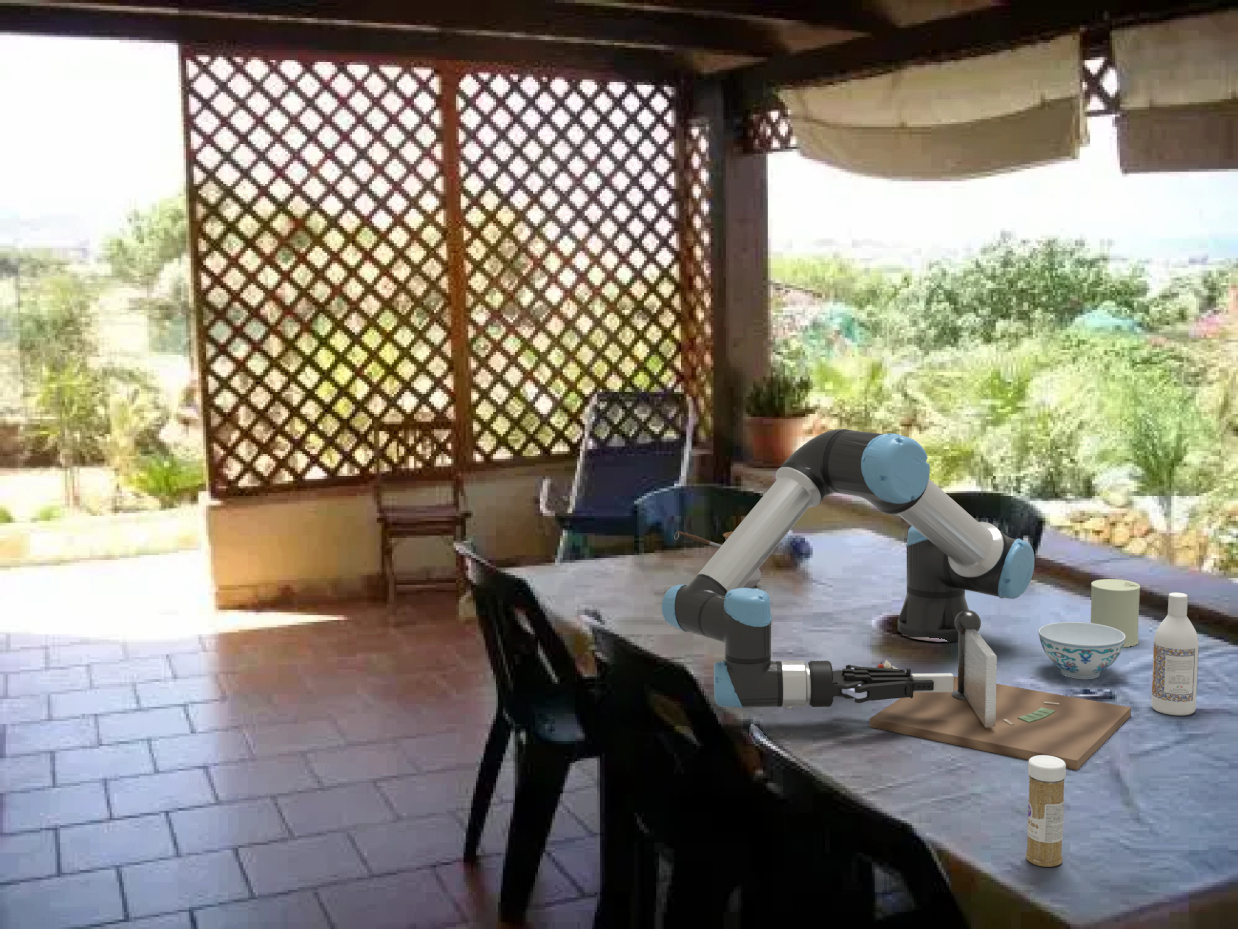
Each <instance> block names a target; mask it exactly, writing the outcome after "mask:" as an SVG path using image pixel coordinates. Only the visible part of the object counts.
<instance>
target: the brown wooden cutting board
mask: <svg viewBox="0 0 1238 929" xmlns="http://www.w3.org/2000/svg"><path fill="white" fill-rule="evenodd" d="M953 676H954V681H953V692H913V698H910V697H908V698H897V700H895V701H894V702H892V703H891V704H889V705H888V706H886V707H885V708H883V709H882V710H880V711H879V712H877V713H875V714H873V715H872V716H871V717H870V718H869V728H872V729H877V730H883V731H887V730H889V731H888V732H892V731H893V733H897V734H902V735H906V736H912V737H916V738H921V739H925V740H926V739H927V740H931V741H935V742H941V743H945V744H950V745H955V746H961V747H965V748H969V749H974V750H979V751H984V752H988V753H994V754H998V755H1003V756H1007V757H1012V758H1016V759H1017V758H1018V759H1021V760H1027V761H1029V759H1030V758H1032V757H1034V756H1038V755H1048V756H1054V757H1057V758H1060V759H1062V760H1063V761H1064V762H1065V764H1066V769H1068V770H1069V769H1070V770H1074V771H1075V770H1076V771H1078V770H1079V768H1081V767H1082V766H1083V765H1084V764H1085V763H1086V761H1088V760H1089V759H1090V757H1092V756H1093V755H1094V754H1095V753H1096V752H1097V751H1098V750H1099V749H1100V748H1101V747H1102V745H1104V743H1106V742H1107V741H1108V739H1110V738H1111V736H1113V735H1114V734H1115V733H1116V731H1118V730H1119V729H1120V728H1121V727H1122V725H1124V724H1125V723H1126V722H1127V720H1129V719H1130V718H1131V716H1132V707H1131V706H1125V705H1118V704H1114V703H1108V702H1101V701H1097V700H1091V699H1085V698H1078V697H1073V696H1068V695H1063V694H1057V693H1051V692H1045V691H1041V690H1035V689H1028V688H1024V687H1017V686H1011V685H1006V684H1000V683H996V719H995V727H985V726H984V725H983V723H982V722H981V720H980V719H979V717H978V715H977V714H976V712H975V711H974V709H973V708H972V706H971V705H970V703H969V702H968V700H967V699H966V697H965V696H964V694H962V693H959V692H958V676H955V675H953Z"/></svg>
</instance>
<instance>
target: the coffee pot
mask: <svg viewBox="0 0 1238 929" xmlns="http://www.w3.org/2000/svg"><path fill="white" fill-rule="evenodd" d="M733 532H734V531H728V532H724V533H723V534H722V537H724V539H725V541H726V540H727V539H728V538H729V536H730V535H731V534H732V533H733ZM677 534H678V535H677ZM676 535H677V538H676ZM680 536H683V537H684V538H687V539H690V540H691V541H694V542H698V543H701V544H705V545H709V546H712V547H715V548H717V549H719V548H720V547H721V546H722V545H723V544H720V543H716V542H714V541H710V540H708V539H706V538H703V537H700V536H699V535H695V534H690V533H688V532H683V531H680V530H677V531H676V532H675V533H674V535H673V539H674V540H678V539H679V538H680ZM761 580H762V573H761V570H760V568H759V569H758V570H757V571H756V572H755V573H754V575H753V576H752V577H751V578H750V580H749V581H748V582H747V583H746V584H745V586H744V587H743V588H751V589H754V588H755V587H756V586H757V585H758V584H759V583H760V582H761Z"/></svg>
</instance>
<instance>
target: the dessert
mask: <svg viewBox="0 0 1238 929" xmlns="http://www.w3.org/2000/svg"><path fill="white" fill-rule="evenodd" d="M891 664H892V663H891V662H890V661H888V660H887V659H885V661H884V663H883V664H882V663H878V665H877V666H876V667H875V668H890V669H900V668H898V667H896V666H895V665H891ZM912 674H913V673H911V675H912Z"/></svg>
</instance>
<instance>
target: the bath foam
mask: <svg viewBox="0 0 1238 929" xmlns="http://www.w3.org/2000/svg"><path fill="white" fill-rule="evenodd" d="M1188 596H1189V595H1188V594H1187V593H1183V592H1169V593H1168V600H1167V602H1168V606H1167V615H1166V617H1165V618H1164V619H1163V620H1162V621H1161V623H1160V624H1159V625H1158V626H1157V628H1156V631H1155V634H1154V637H1153V648H1152V650H1153V651H1152V652H1153V653H1152V673H1151V674H1152V675H1151V677H1152V678H1151V702H1150V703H1151V708H1152V709H1153V710H1155V711H1156V712H1159V713H1160V714H1164V715H1170V716H1189V715H1192V714H1194V713H1195V712H1196V708H1197V695H1198V693H1197V692H1198V676H1199V675H1198V673H1199V672H1198V670H1199V652H1200V650H1199V649H1200V645H1199V636H1198V633H1197V631H1196V628H1195V627H1194V625H1193V624H1192V621H1191V620H1190V619H1189V617H1188V616H1187V615H1188V599H1189V598H1188Z"/></svg>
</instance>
